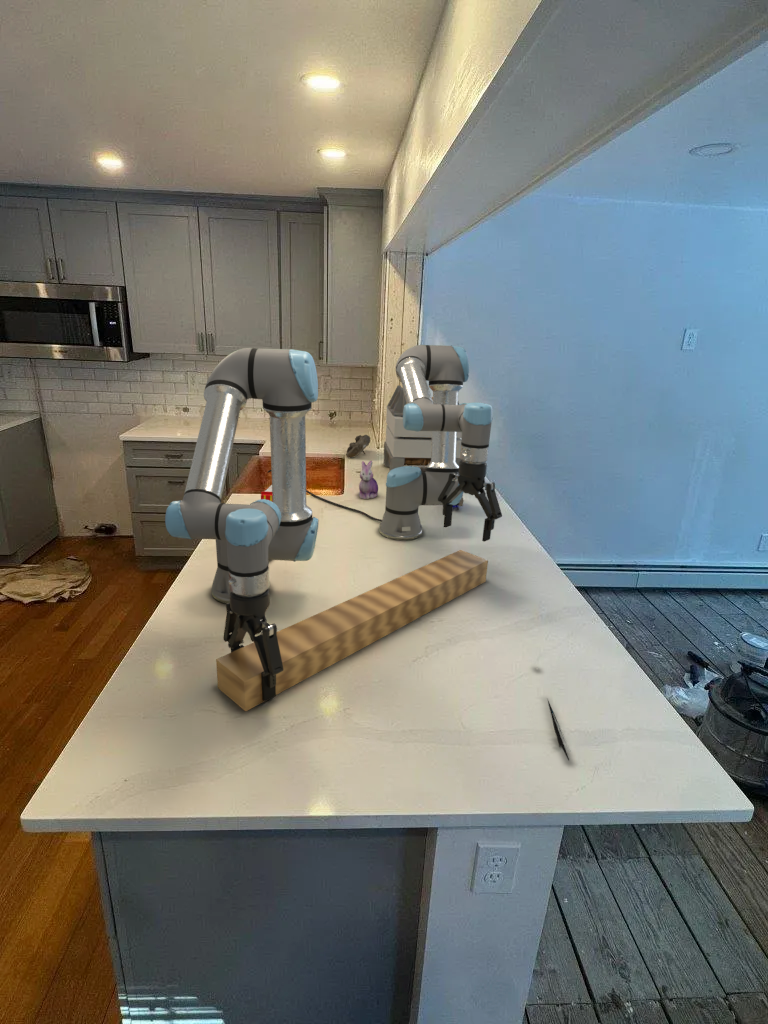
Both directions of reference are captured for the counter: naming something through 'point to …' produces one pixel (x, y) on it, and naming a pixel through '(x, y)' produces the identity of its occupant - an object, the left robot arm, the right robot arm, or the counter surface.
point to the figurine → (367, 482)
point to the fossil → (358, 446)
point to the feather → (557, 730)
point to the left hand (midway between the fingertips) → (253, 685)
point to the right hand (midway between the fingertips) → (466, 533)
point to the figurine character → (459, 503)
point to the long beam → (350, 626)
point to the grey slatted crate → (407, 438)
